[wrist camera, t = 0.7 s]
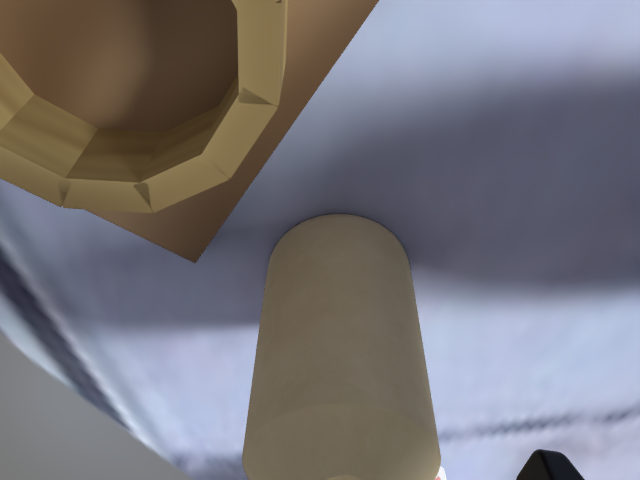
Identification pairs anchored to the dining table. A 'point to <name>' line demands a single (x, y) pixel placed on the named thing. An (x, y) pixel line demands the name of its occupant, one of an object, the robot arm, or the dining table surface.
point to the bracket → (158, 102)
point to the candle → (340, 361)
